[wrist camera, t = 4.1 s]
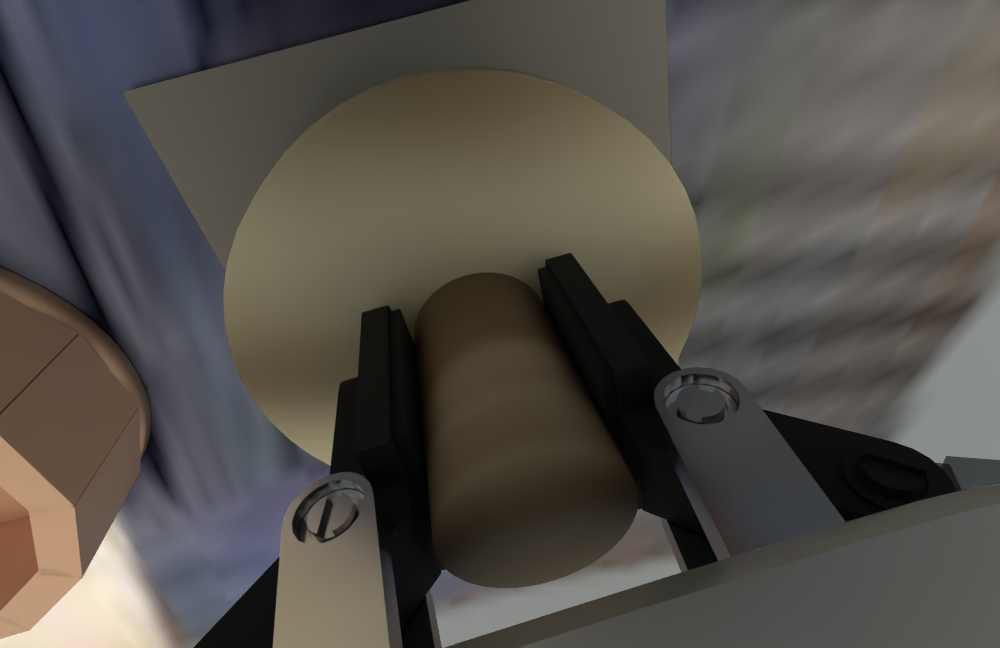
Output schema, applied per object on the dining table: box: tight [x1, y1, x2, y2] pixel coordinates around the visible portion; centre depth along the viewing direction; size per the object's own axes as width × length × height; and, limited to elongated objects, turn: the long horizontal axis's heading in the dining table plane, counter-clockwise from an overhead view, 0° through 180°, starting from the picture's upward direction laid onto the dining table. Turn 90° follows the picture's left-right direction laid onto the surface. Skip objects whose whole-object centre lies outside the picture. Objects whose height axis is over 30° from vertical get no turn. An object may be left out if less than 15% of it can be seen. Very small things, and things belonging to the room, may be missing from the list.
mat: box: [122, 0, 679, 366], centre depth 17 cm, size 14×14×1 cm
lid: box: [223, 66, 702, 588], centre depth 10 cm, size 10×10×6 cm
